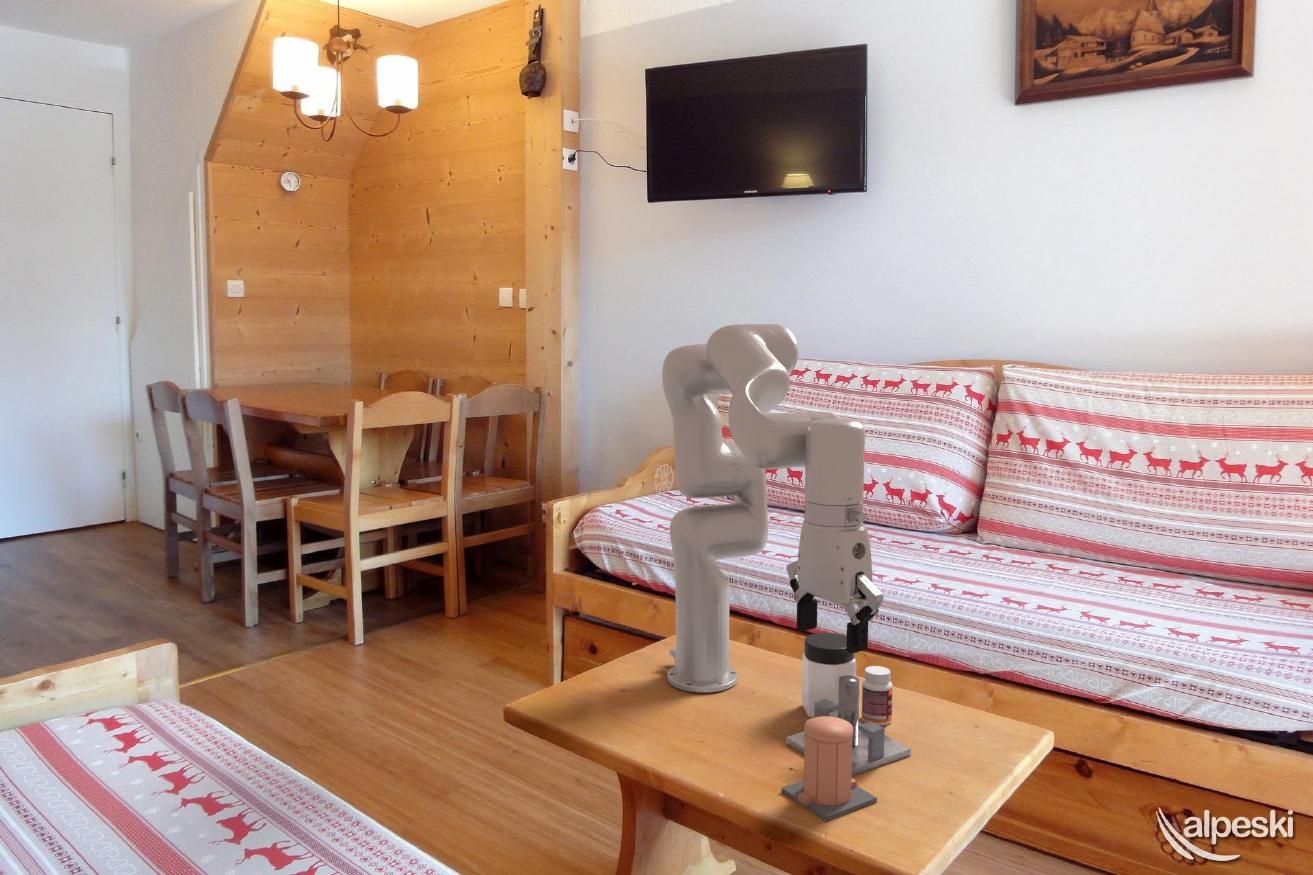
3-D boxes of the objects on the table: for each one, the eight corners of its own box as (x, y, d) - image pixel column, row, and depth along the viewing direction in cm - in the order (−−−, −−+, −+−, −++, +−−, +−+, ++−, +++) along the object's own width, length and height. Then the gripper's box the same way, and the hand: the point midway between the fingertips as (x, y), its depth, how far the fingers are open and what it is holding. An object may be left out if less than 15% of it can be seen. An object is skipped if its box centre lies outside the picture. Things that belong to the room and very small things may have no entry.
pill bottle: (894, 726, 149) (896, 675, 148) (864, 726, 149) (865, 675, 148) (888, 713, 154) (889, 664, 153) (858, 713, 154) (859, 664, 153)
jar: (825, 725, 149) (826, 653, 148) (791, 708, 156) (792, 638, 154) (865, 712, 154) (867, 642, 153) (830, 695, 161) (832, 628, 159)
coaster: (781, 791, 129) (781, 787, 129) (830, 774, 134) (830, 770, 134) (826, 821, 121) (826, 816, 121) (876, 801, 126) (876, 797, 126)
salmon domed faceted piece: (836, 774, 132) (837, 710, 131) (869, 793, 127) (870, 726, 126) (786, 792, 128) (786, 725, 126) (817, 813, 122) (818, 743, 121)
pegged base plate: (786, 743, 143) (787, 674, 142) (849, 722, 150) (850, 657, 149) (845, 778, 132) (847, 703, 131) (910, 754, 139) (912, 683, 138)
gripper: (903, 522, 117) (899, 654, 119) (811, 499, 132) (809, 617, 134) (859, 530, 113) (856, 666, 115) (769, 505, 128) (767, 626, 130)
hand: (831, 639), depth 125 cm, fingers open, 9 cm apart
